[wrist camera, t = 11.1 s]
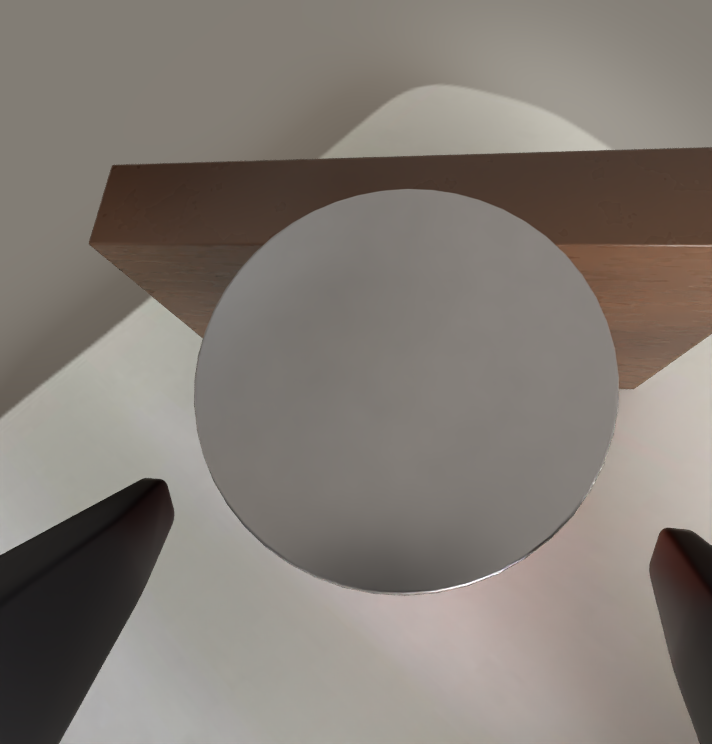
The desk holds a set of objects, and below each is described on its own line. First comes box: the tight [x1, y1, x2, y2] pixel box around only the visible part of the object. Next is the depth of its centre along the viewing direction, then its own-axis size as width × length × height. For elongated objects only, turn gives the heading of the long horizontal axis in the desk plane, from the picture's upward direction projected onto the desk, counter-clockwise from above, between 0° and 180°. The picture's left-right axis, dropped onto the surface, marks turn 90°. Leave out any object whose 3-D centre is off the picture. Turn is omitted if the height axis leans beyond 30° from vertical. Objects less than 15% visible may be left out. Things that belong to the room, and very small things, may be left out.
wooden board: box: [89, 147, 712, 389], centre depth 16 cm, size 2×16×10 cm, turn 85°
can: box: [194, 189, 619, 596], centre depth 13 cm, size 7×7×12 cm
